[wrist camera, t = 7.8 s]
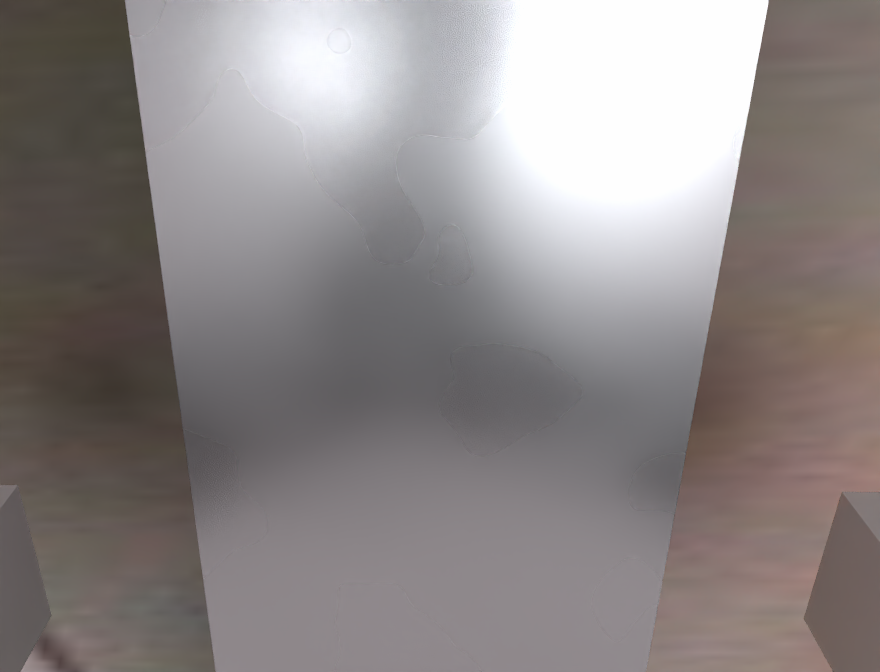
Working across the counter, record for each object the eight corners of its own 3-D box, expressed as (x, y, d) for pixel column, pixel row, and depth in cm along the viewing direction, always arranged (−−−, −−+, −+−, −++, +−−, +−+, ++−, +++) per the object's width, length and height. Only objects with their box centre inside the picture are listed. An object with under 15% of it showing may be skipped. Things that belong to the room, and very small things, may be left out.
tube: (133, -634, 9) (-456, -1838, 3) (755, -605, 9) (1387, -1672, 3) (278, 817, 20) (215, 1194, 14) (562, 816, 20) (623, 1186, 14)
